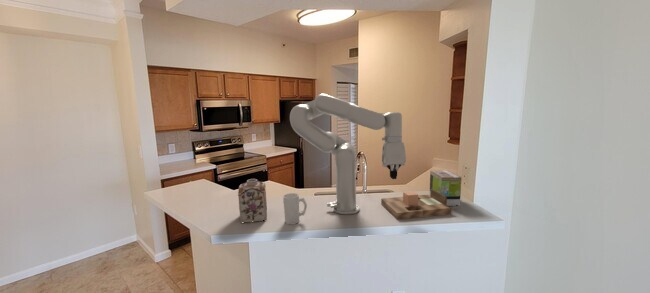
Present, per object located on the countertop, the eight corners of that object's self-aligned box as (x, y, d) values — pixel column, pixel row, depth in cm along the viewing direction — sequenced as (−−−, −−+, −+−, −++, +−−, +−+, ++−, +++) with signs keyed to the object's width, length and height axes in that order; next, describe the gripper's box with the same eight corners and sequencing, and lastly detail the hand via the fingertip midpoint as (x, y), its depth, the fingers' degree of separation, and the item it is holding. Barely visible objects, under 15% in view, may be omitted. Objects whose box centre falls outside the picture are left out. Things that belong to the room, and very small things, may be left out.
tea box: (460, 206, 127) (462, 176, 125) (440, 206, 128) (441, 177, 126) (447, 195, 142) (448, 169, 140) (428, 196, 143) (429, 170, 140)
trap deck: (397, 219, 114) (397, 204, 113) (381, 204, 133) (381, 191, 132) (451, 214, 118) (451, 199, 117) (428, 200, 137) (428, 187, 136)
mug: (283, 225, 112) (282, 198, 111) (285, 218, 119) (284, 193, 117) (306, 224, 112) (305, 197, 111) (307, 218, 119) (306, 192, 117)
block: (407, 205, 122) (408, 195, 121) (403, 201, 127) (403, 192, 126) (417, 204, 123) (418, 194, 122) (412, 201, 128) (412, 191, 127)
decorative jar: (267, 211, 128) (265, 175, 126) (267, 220, 117) (264, 182, 115) (242, 214, 126) (239, 178, 123) (239, 224, 115) (236, 184, 112)
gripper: (380, 141, 114) (381, 181, 117) (412, 139, 117) (412, 179, 119) (374, 139, 122) (375, 177, 124) (404, 137, 124) (404, 175, 126)
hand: (393, 178), depth 122 cm, fingers closed
